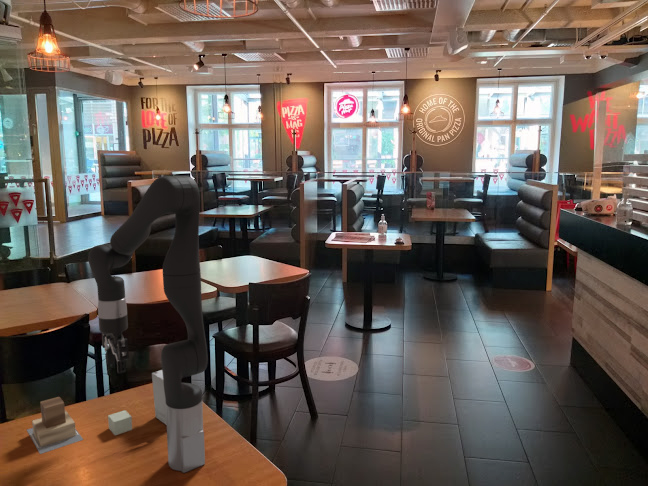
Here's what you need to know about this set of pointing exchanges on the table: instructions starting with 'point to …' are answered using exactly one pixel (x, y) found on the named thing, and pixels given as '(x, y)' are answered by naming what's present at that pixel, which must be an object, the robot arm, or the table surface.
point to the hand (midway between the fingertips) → (116, 368)
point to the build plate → (54, 445)
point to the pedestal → (53, 431)
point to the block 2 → (120, 422)
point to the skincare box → (159, 396)
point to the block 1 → (53, 412)
